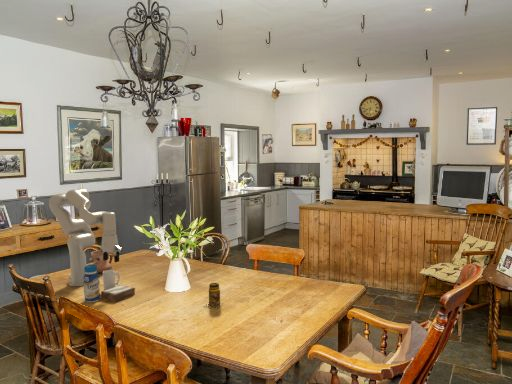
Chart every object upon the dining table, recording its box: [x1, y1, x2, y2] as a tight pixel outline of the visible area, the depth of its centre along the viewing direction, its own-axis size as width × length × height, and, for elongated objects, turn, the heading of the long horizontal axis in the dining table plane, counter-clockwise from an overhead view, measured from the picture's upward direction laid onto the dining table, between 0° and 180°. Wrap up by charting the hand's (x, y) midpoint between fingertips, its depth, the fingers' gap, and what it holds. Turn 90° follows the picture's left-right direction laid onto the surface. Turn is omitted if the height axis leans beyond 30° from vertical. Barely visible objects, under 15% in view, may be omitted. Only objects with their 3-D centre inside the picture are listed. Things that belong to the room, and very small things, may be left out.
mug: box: [102, 269, 121, 291], centre depth 259 cm, size 10×7×12 cm, turn 133°
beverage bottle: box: [83, 263, 101, 303], centre depth 241 cm, size 8×8×20 cm
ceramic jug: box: [88, 249, 114, 274], centre depth 300 cm, size 18×14×14 cm
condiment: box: [203, 282, 223, 309], centre depth 231 cm, size 7×8×12 cm
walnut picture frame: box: [100, 284, 136, 303], centre depth 248 cm, size 12×14×4 cm
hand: (111, 260), depth 257 cm, fingers open, 9 cm apart
